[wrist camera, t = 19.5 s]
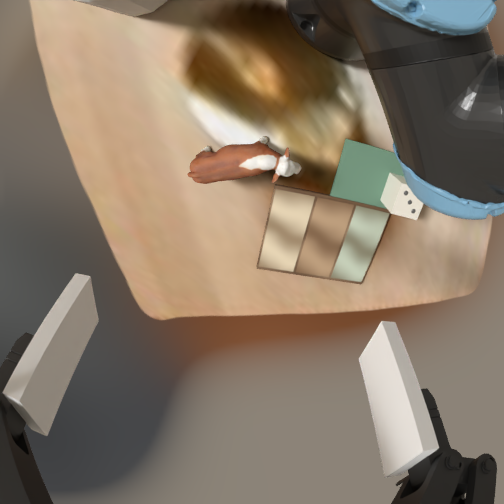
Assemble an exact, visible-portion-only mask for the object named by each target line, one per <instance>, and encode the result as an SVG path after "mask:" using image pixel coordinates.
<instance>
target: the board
mask: <svg viewBox="0 0 504 504" xmlns="http://www.w3.org/2000/svg"><path fill="white" fill-rule="evenodd" d="M389 216H390V212H389V210H388V209H385V208H381V207H377V206H373V205H369V204H364V203H360V202H356V201H351V200H347V199H342V198H338V197H333V196H330V195H327V194H323V193H318V192H313V191H308V190H303V189H298V188H293V187H288V186H283V185H277V184H275V186H274V191H273V195H272V200H271V204H270V209H269V213H268V218H267V222H266V227H265V231H264V236H263V240H262V245H261V249H260V254H259V258H258V263H257V269H264V270H270V271H277V272H283V273H290V274H296V275H303V276H309V277H316V278H322V279H329V280H336V281H343V282H350V283H356V284H361V283H362V281H363V279H364V277H365V274H366V272H367V270H368V267H369V265H370V263H371V260H372V258H373V256H374V253H375V251H376V249H377V246H378V244H379V241H380V239H381V236H382V234H383V231H384V229H385V226H386V224H387V221H388V218H389Z"/></svg>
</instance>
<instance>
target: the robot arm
mask: <svg viewBox="0 0 504 504" xmlns="http://www.w3.org/2000/svg"><path fill="white" fill-rule="evenodd" d="M495 1H496V0H286V8H287V12H288V16H289V18H290V21H291V23H292V25H293V26H294V28H295V30H296V31H297V32H298V34H299V35H300V36H301V37H302V38H303V39H304V40H305V41H306V42H307V43H308V44H310V45H311V46H312V47H314V48H315V49H317V50H318V51H320V52H322V53H324V54H326V55H329V56H332V57H335V58H338V59H343V60H365V61H366V64H367V66H368V70H369V72H370V75H371V77H372V80H373V83H374V85H375V88H376V91H377V93H378V96H379V99H380V102H381V104H382V107H383V110H384V113H385V116H386V119H387V122H388V125H389V128H390V132H391V135H392V138H393V141H394V143H393V148H394V152H395V155H396V158H397V159H398V161H399V163H400V165H401V168H402V171H403V174H404V177H405V180H406V183H407V185H408V187H409V188H410V190H411V191H412V193H413V194H414V195H415V196H416V198H417V199H419V200H420V201H421V202H422V203H424V204H425V205H426V206H428V207H430V208H431V209H433V210H435V211H437V212H440V213H443V214H445V215H448V216H452V217H456V218H462V219H472V220H478V219H485V218H486V217H487V214H490V215H492V216H494V217H495V216H498V215H501V214H503V213H504V55H497V54H495V53H494V49H493V46H492V43H491V39H490V36H489V33H488V30H487V27H486V26H487V24H489V23H490V22H491V20H492V19H493V17H494V16H495V14H496V10H497V9H496V6H495V4H494V2H495ZM98 321H99V320H98V316H97V310H96V306H95V300H94V295H93V289H92V283H91V277H90V276H86V275H81V274H77V273H76V274H75V275H74V277H73V278H72V280H71V281H70V282H69V284H68V285H67V287H66V288H65V289H64V291H63V292H62V294H61V295H60V297H59V298H58V300H57V301H56V303H55V304H54V306H53V307H52V309H51V310H50V312H49V313H48V315H47V316H46V318H45V319H44V321H43V323H42V324H41V326H40V327H39V329H38V331H37V332H36V334H35V335H31V334H29V333H25V334H24V335H23V336H21V337H20V338H19V339H18V340H17V341H16V342H15V344H14V346H13V347H12V349H11V352H9V354H8V355H7V357H6V360H5V361H4V362H3V364H2V366H1V368H0V504H53V502H52V500H51V498H50V495H49V493H48V491H47V489H46V486H45V484H44V482H43V479H42V477H41V474H40V472H39V469H38V467H37V464H36V461H35V459H34V456H33V453H32V450H31V447H30V444H29V441H28V438H27V435H26V432H25V430H24V427H25V424H26V423H27V425H28V426H29V427H30V428H31V429H32V430H34V431H36V432H39V433H41V434H43V435H45V436H47V435H48V433H49V430H50V428H51V425H52V422H53V420H54V417H55V415H56V412H57V410H58V407H59V405H60V403H61V400H62V398H63V395H64V393H65V391H66V388H67V386H68V384H69V382H70V379H71V377H72V375H73V373H74V371H75V368H76V366H77V364H78V362H79V360H80V357H81V355H82V353H83V351H84V349H85V347H86V345H87V343H88V341H89V339H90V337H91V335H92V333H93V331H94V328H95V327H96V325H97V323H98ZM359 362H360V366H361V370H362V374H363V378H364V382H365V386H366V390H367V394H368V399H369V403H370V407H371V412H372V416H373V421H374V426H375V430H376V435H377V440H378V445H379V450H380V455H381V461H382V465H383V472H384V477H385V478H386V477H392V476H398V475H401V474H402V473H404V472H405V471H407V470H408V473H409V475H408V476H407V477H405V478H403V479H402V480H400V481H399V482H397V484H396V486H398V485H400V484H401V483H403V484H402V486H401V487H400V489H399V491H398V493H397V495H396V496H395V498H394V500H393V501H392V503H391V504H494V497H495V486H496V473H497V465H496V462H495V459H494V458H493V457H492V456H491V455H489V454H482V455H481V456H479V457H478V458H476V459H473V458H464V457H462V456H461V454H460V453H459V452H458V451H457V450H454V449H451V447H450V445H449V442H448V438H447V435H446V432H445V429H444V426H443V423H442V420H441V418H440V414H439V411H438V410H437V405H436V402H435V399H434V397H433V396H432V395H431V393H430V392H429V390H428V389H420V386H419V383H418V380H417V377H416V375H415V372H414V370H413V366H412V364H411V361H410V358H409V356H408V353H407V351H406V348H405V346H404V343H403V341H402V338H401V336H400V333H399V331H398V328H397V326H396V323H395V322H386V321H381V323H380V324H379V326H378V328H377V330H376V331H375V333H374V335H373V336H372V338H371V340H370V342H369V343H368V345H367V346H366V348H365V350H364V351H363V353H362V354H361V356H360V358H359ZM465 493H466V498H464V494H465Z"/></svg>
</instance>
